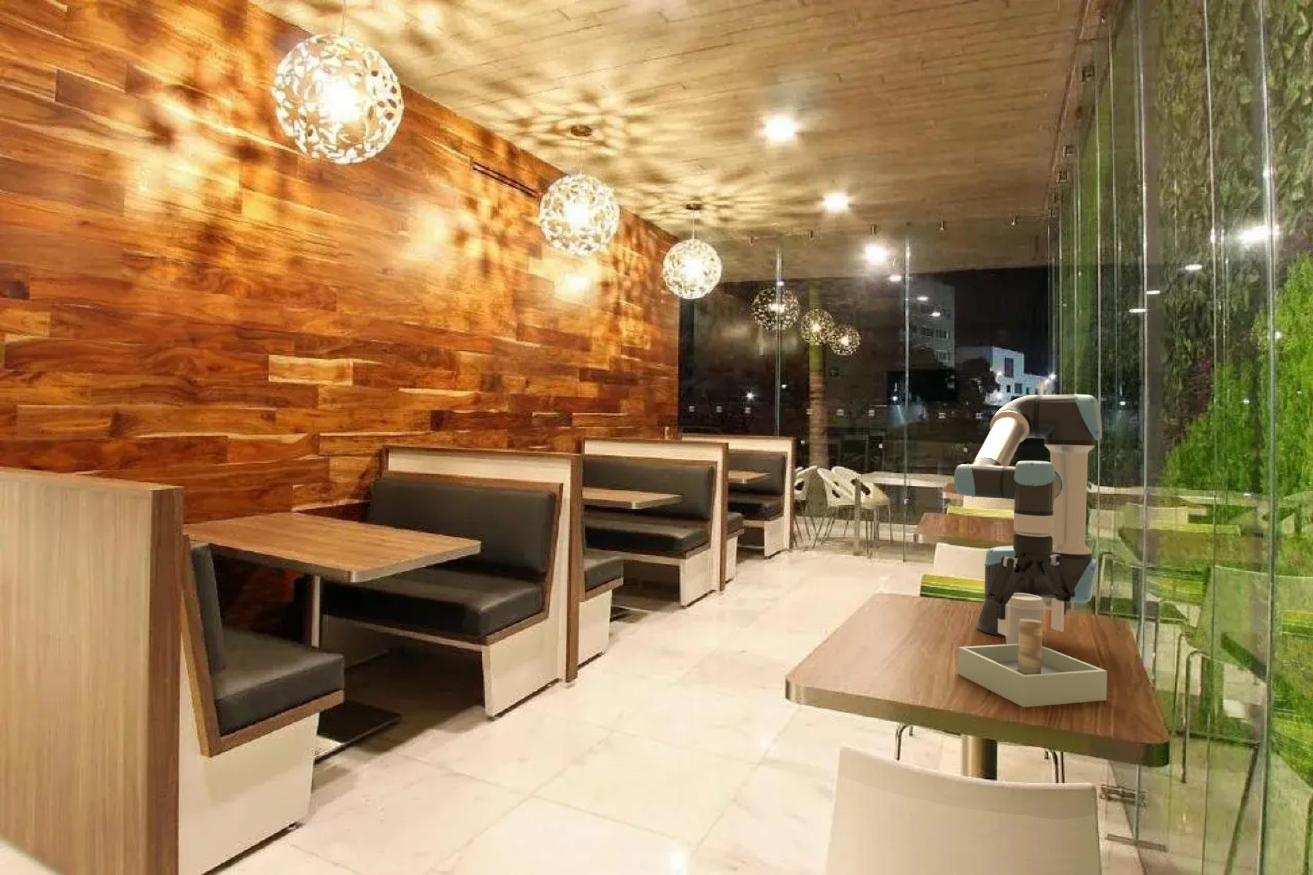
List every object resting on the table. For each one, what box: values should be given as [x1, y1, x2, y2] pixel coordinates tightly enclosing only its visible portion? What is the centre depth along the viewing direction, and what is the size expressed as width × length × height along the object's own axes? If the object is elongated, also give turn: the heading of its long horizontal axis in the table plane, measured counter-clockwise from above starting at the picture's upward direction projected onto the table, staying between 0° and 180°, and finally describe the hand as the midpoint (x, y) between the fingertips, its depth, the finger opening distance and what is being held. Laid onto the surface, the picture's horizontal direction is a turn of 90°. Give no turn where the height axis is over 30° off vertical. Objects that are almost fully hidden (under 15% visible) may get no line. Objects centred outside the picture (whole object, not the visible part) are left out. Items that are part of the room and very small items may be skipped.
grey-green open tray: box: [957, 643, 1108, 708], centre depth 157 cm, size 20×20×6 cm
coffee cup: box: [1005, 593, 1047, 644], centre depth 176 cm, size 10×10×15 cm
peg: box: [1018, 619, 1043, 675], centre depth 156 cm, size 4×4×14 cm
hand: (1030, 632), depth 157 cm, fingers open, 13 cm apart
